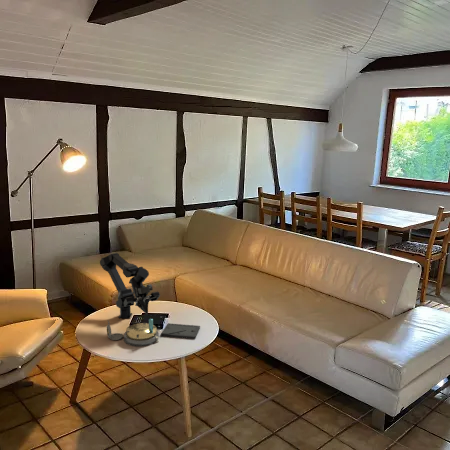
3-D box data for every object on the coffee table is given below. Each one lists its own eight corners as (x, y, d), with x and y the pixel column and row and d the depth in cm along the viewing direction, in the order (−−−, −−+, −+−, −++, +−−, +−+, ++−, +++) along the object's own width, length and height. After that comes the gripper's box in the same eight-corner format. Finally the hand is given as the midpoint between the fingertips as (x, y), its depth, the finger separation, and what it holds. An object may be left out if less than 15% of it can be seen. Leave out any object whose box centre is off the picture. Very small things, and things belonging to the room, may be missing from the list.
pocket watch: (125, 337, 227) (125, 318, 225) (113, 343, 220) (113, 324, 218) (113, 333, 231) (113, 314, 229) (101, 339, 224) (101, 320, 222)
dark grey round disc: (128, 331, 234) (128, 326, 234) (161, 331, 234) (161, 327, 234) (120, 346, 218) (120, 341, 217) (157, 346, 218) (157, 341, 217)
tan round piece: (153, 326, 235) (152, 308, 233) (159, 338, 222) (159, 319, 220) (123, 330, 230) (123, 312, 228) (128, 342, 216) (128, 324, 214)
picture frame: (160, 337, 229) (195, 340, 227) (160, 333, 229) (195, 336, 226) (167, 326, 242) (200, 329, 240) (167, 322, 242) (200, 325, 239)
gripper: (125, 282, 228) (134, 310, 221) (158, 276, 238) (168, 303, 232) (119, 292, 236) (128, 319, 229) (152, 286, 246) (161, 312, 240)
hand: (147, 313), depth 232 cm, fingers closed
